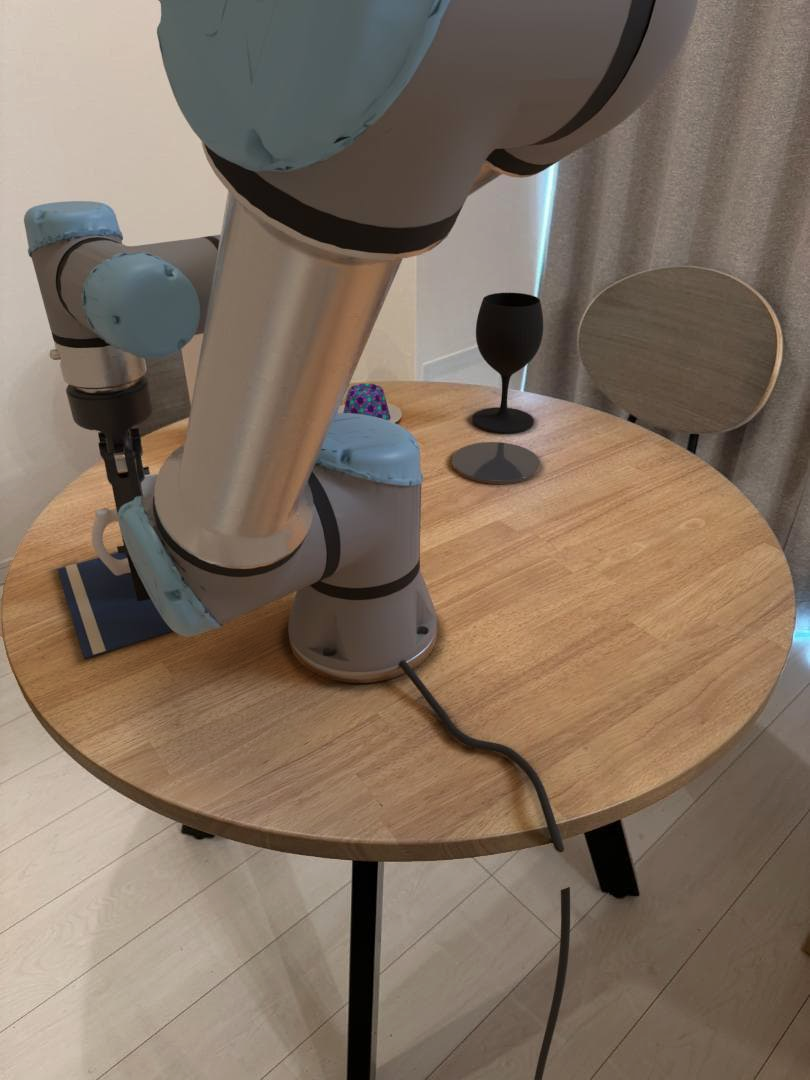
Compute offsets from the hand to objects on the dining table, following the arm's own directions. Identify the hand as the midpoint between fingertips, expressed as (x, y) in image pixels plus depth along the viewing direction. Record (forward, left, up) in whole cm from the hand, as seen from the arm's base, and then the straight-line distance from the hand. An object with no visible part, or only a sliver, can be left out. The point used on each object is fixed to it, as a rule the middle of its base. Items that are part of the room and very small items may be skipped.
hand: (147, 562), depth 82 cm
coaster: (+15, -50, -3) cm, 52 cm away
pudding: (+38, -37, -3) cm, 53 cm away
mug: (0, 0, -3) cm, 3 cm away
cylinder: (+34, -15, -3) cm, 37 cm away
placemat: (0, 0, -3) cm, 3 cm away
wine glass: (+29, -58, -3) cm, 65 cm away
